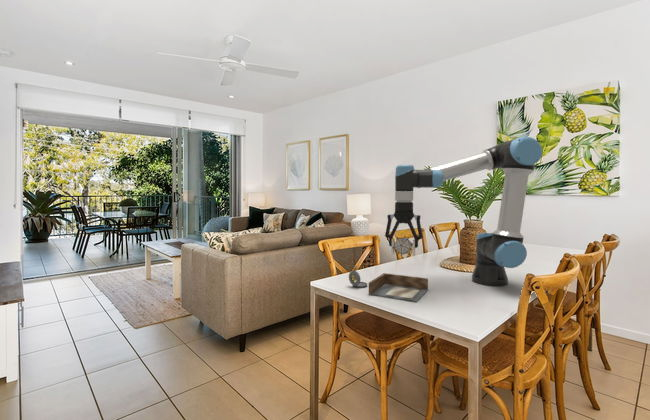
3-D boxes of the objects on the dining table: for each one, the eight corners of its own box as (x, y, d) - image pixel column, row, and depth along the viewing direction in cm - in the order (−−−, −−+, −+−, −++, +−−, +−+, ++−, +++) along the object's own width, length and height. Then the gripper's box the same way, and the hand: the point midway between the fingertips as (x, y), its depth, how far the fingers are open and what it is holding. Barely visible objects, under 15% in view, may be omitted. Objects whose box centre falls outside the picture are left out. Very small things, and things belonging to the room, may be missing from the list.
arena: (427, 290, 145) (428, 278, 145) (416, 302, 130) (416, 289, 129) (383, 284, 155) (383, 273, 155) (368, 294, 140) (368, 282, 139)
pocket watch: (368, 284, 155) (368, 262, 154) (365, 289, 147) (365, 267, 146) (350, 283, 157) (350, 262, 157) (347, 288, 149) (347, 266, 148)
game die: (407, 264, 143) (419, 247, 138) (389, 257, 143) (400, 240, 137) (406, 250, 151) (417, 234, 145) (388, 244, 150) (399, 227, 145)
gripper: (430, 201, 143) (429, 254, 144) (381, 200, 150) (380, 251, 152) (429, 202, 136) (428, 257, 137) (377, 201, 143) (377, 254, 145)
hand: (403, 254), depth 144 cm, fingers closed on game die, 8 cm apart
